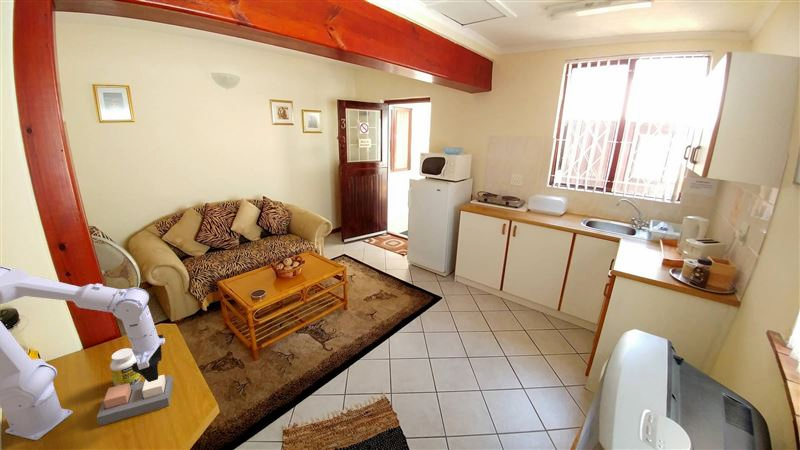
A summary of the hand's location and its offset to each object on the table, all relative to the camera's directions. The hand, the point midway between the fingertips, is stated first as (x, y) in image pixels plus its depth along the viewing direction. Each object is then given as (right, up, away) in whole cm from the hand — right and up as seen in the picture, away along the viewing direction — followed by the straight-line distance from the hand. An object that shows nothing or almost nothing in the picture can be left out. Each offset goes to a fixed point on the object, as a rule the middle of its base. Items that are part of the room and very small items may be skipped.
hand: (155, 370), depth 86 cm
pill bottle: (-14, -7, +7) cm, 17 cm away
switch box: (-6, -10, +1) cm, 12 cm away
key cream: (-2, -7, +2) cm, 8 cm away
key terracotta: (-9, -8, -1) cm, 12 cm away
